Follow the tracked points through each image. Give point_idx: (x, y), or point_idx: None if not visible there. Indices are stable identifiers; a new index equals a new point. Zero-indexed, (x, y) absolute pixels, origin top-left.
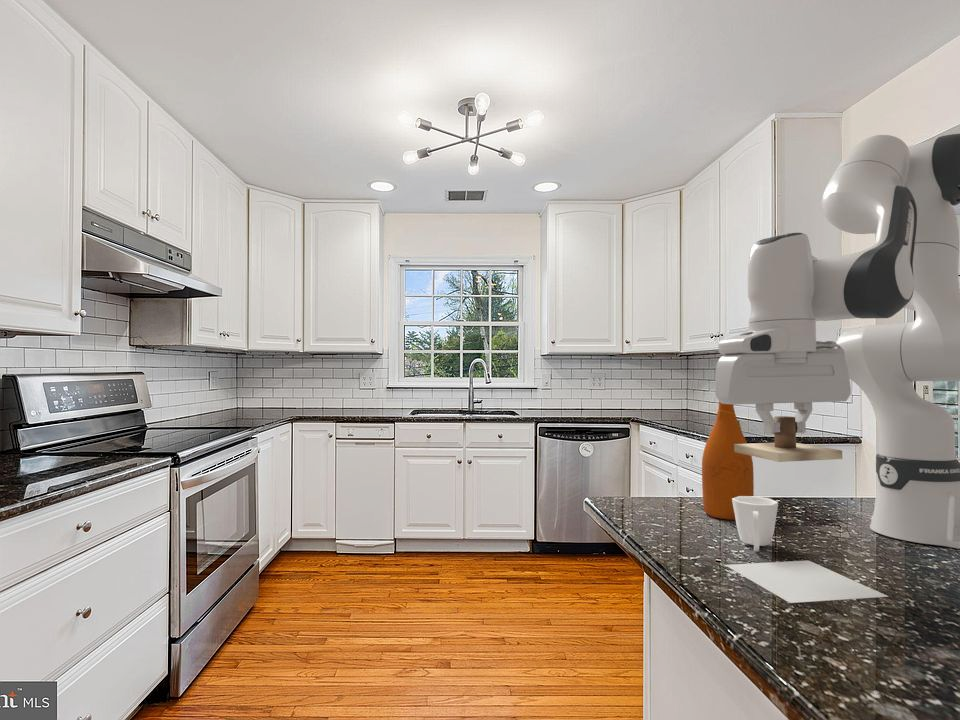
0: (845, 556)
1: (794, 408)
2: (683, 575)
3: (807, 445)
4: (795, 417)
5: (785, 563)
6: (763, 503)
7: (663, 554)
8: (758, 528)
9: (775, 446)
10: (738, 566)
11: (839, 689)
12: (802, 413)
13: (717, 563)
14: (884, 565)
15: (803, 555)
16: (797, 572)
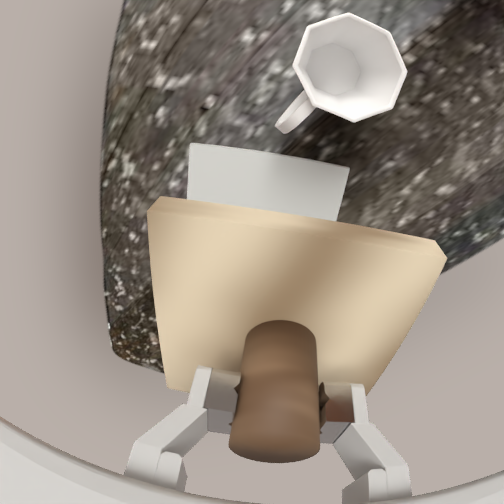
0: (434, 165)
1: (367, 473)
2: (116, 155)
3: (386, 343)
4: (358, 438)
5: (297, 167)
6: (391, 59)
7: (134, 60)
8: (283, 132)
9: (247, 336)
10: (206, 156)
11: (136, 352)
12: (359, 466)
13: (195, 118)
14: (440, 213)
15: (379, 133)
16: (280, 204)
